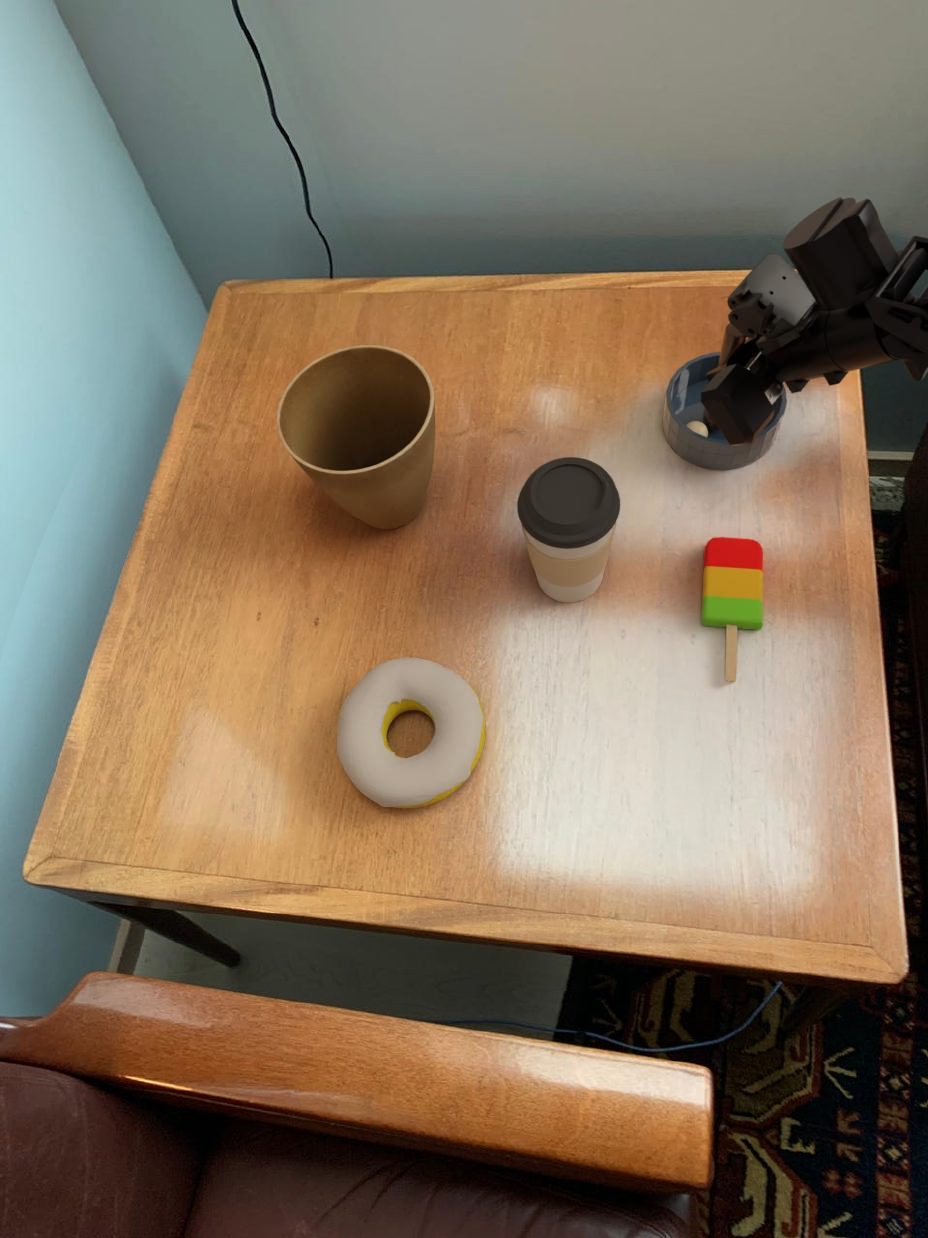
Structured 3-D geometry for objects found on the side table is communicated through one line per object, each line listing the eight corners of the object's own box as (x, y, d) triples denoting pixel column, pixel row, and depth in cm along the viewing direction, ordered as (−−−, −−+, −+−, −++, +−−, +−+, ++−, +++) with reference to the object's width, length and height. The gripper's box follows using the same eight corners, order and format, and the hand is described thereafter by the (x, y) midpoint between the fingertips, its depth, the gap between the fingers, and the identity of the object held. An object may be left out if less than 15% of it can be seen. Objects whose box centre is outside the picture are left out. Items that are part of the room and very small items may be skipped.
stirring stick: (737, 415, 91) (759, 324, 80) (722, 434, 90) (743, 345, 79) (711, 403, 92) (730, 312, 81) (697, 422, 91) (713, 333, 80)
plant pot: (411, 424, 98) (382, 319, 84) (482, 512, 92) (464, 416, 78) (298, 490, 96) (248, 394, 82) (363, 586, 90) (322, 500, 76)
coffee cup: (516, 604, 87) (505, 525, 73) (535, 528, 90) (527, 439, 77) (606, 619, 85) (611, 540, 71) (621, 540, 88) (629, 451, 75)
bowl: (715, 362, 97) (721, 333, 93) (801, 423, 92) (811, 394, 88) (639, 424, 94) (642, 397, 90) (723, 489, 90) (730, 464, 86)
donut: (444, 840, 77) (436, 828, 73) (315, 777, 81) (300, 762, 77) (511, 705, 82) (507, 686, 78) (386, 652, 86) (376, 630, 82)
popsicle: (760, 547, 86) (764, 537, 85) (760, 687, 80) (763, 680, 78) (703, 543, 87) (705, 534, 86) (698, 682, 81) (701, 675, 79)
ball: (698, 416, 91) (686, 415, 90) (716, 429, 90) (705, 429, 88) (684, 437, 93) (673, 437, 91) (703, 451, 92) (691, 451, 90)
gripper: (861, 185, 72) (725, 244, 85) (737, 328, 67) (614, 367, 80) (919, 295, 76) (780, 335, 90) (807, 439, 71) (678, 457, 85)
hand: (714, 370), depth 86 cm, fingers closed on stirring stick, 2 cm apart
